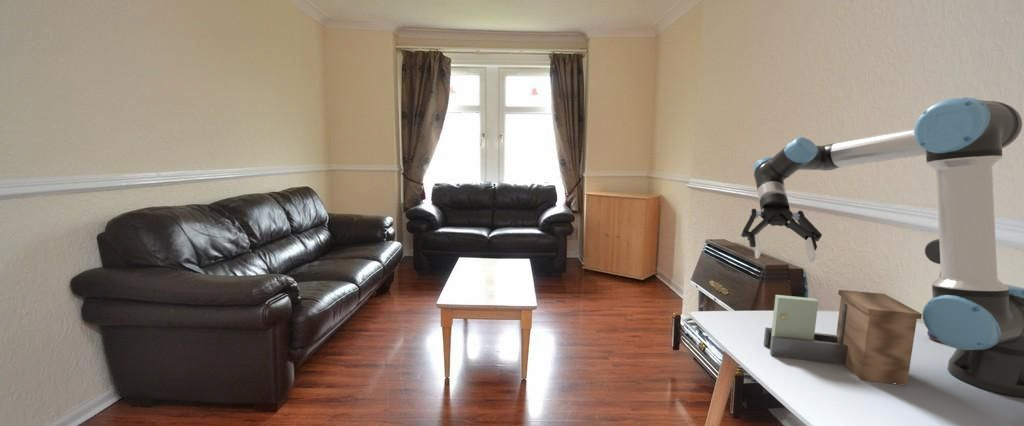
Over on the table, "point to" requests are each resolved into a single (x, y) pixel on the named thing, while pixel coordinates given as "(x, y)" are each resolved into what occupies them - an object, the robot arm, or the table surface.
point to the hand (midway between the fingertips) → (785, 257)
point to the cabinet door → (794, 317)
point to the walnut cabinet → (876, 335)
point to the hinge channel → (807, 348)
